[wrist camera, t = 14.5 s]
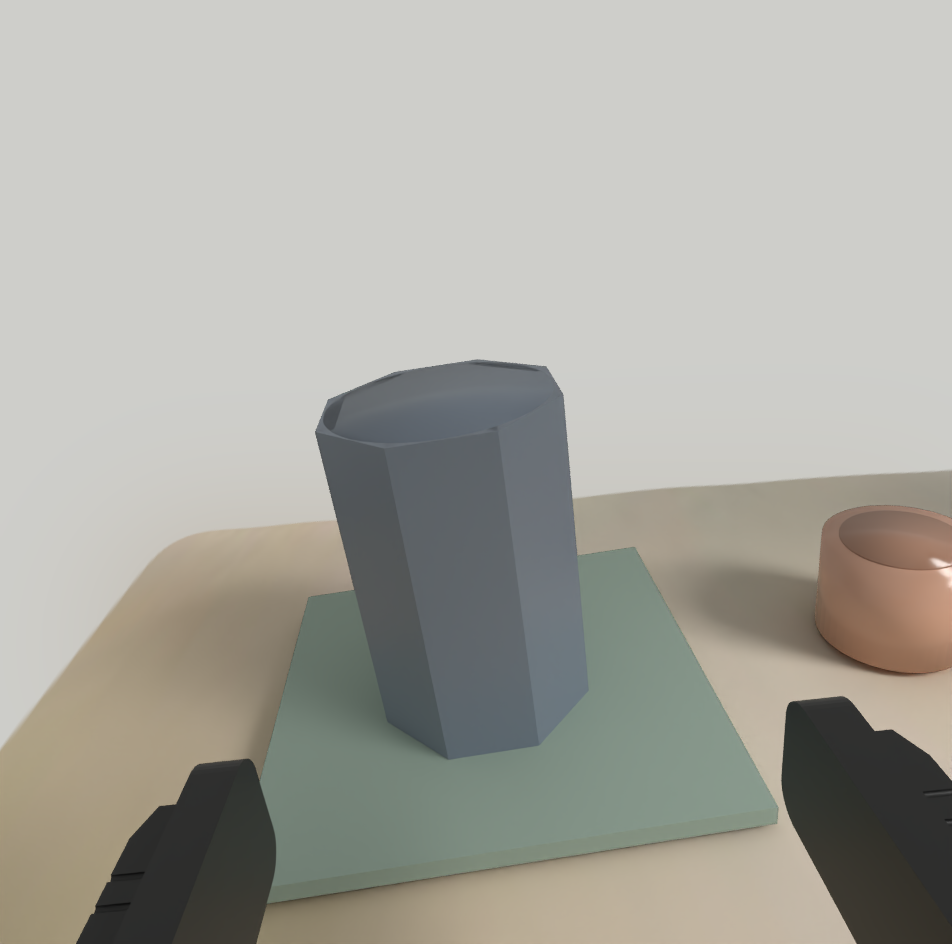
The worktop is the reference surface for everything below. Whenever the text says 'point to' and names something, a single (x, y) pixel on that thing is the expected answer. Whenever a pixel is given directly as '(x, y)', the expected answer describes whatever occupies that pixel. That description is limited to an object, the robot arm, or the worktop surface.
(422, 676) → the grey octagonal prism
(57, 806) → the worktop surface
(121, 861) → the robot arm
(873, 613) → the cylinder
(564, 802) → the mat
